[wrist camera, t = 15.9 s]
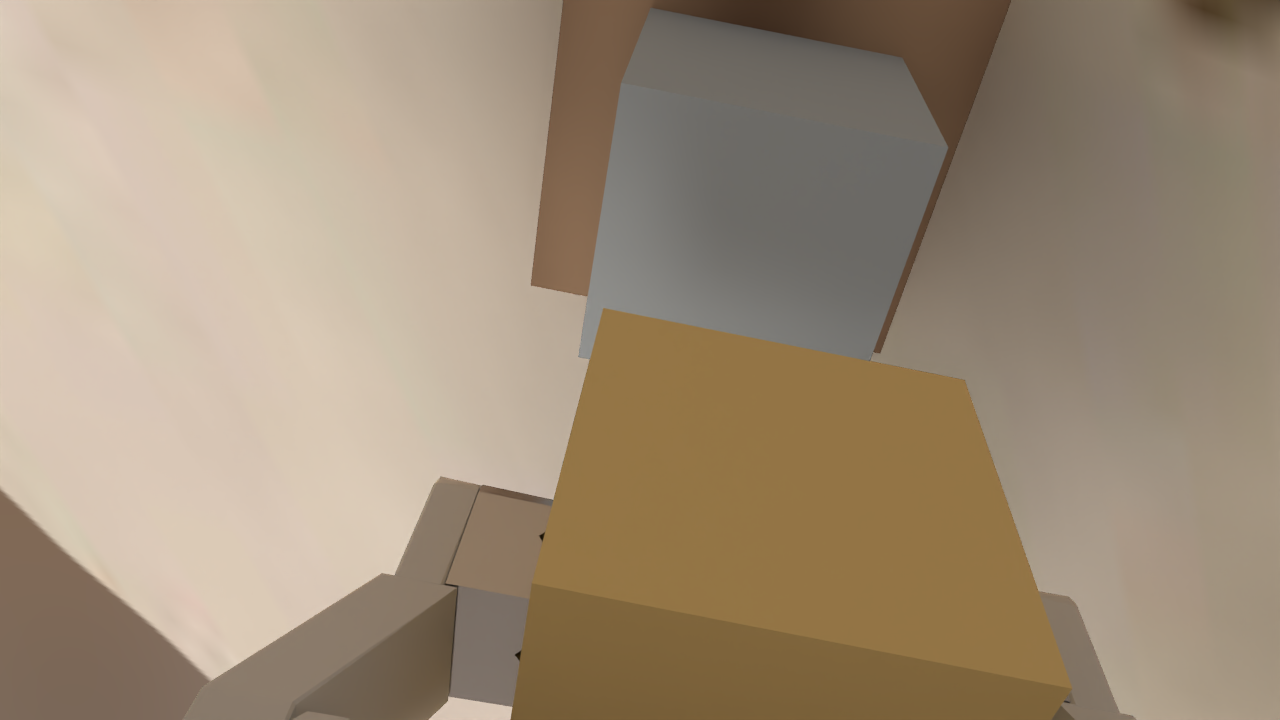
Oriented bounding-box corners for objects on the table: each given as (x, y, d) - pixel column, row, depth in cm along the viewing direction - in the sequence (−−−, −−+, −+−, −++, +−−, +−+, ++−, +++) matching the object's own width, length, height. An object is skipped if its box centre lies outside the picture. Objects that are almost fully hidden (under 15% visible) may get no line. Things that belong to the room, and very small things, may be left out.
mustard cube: (964, 379, 11) (1071, 689, 8) (854, 623, 14) (895, 946, 10) (603, 308, 11) (532, 583, 8) (557, 564, 14) (486, 869, 10)
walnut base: (988, -42, 23) (1017, -18, 21) (868, 301, 29) (879, 353, 26) (594, -120, 23) (575, -105, 20) (549, 239, 29) (530, 285, 26)
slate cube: (902, 57, 22) (948, 147, 17) (831, 279, 25) (851, 410, 20) (650, 7, 22) (621, 82, 17) (612, 236, 25) (578, 357, 20)
